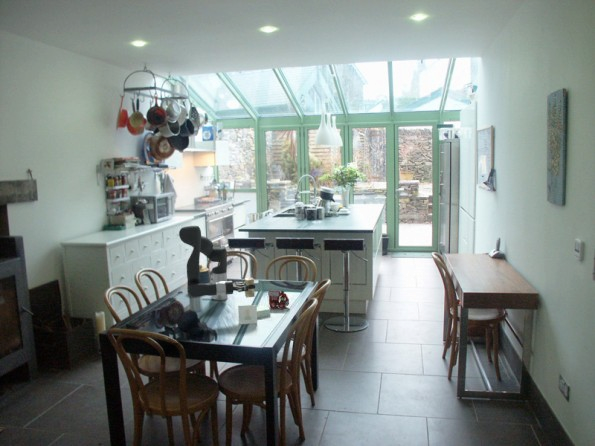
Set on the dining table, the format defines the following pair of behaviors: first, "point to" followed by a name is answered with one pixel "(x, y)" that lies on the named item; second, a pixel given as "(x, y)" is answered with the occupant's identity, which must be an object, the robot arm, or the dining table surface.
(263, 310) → the base brick
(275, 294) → the toy fire truck
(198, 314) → the dining table surface
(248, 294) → the column
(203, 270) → the canister
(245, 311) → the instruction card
